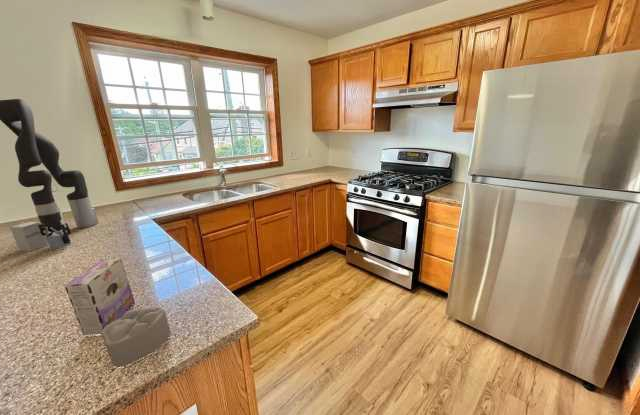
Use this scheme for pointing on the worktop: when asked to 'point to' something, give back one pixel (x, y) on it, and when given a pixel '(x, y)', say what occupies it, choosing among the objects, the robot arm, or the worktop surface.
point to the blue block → (56, 241)
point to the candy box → (100, 295)
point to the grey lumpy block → (135, 335)
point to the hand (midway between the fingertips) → (59, 243)
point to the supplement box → (28, 236)
